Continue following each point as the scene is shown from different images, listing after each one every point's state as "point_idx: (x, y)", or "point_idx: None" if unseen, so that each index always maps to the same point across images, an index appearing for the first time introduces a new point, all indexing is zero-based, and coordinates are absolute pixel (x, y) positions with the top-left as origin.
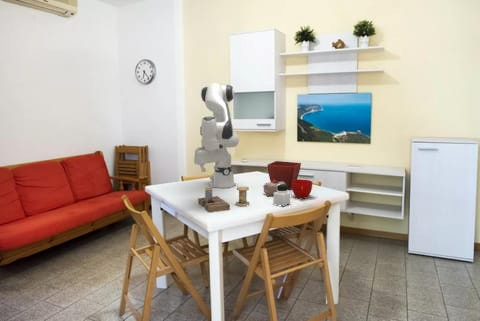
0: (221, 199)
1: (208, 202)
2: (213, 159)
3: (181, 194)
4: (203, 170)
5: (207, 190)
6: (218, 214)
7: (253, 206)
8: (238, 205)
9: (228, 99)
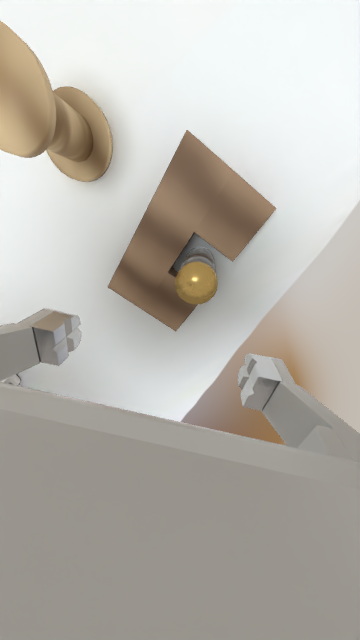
0: (136, 238)
1: (212, 258)
2: (10, 478)
3: (133, 403)
4: (285, 371)
5: (216, 276)
6: (285, 140)
7: (63, 43)
8: (111, 142)
9: None
